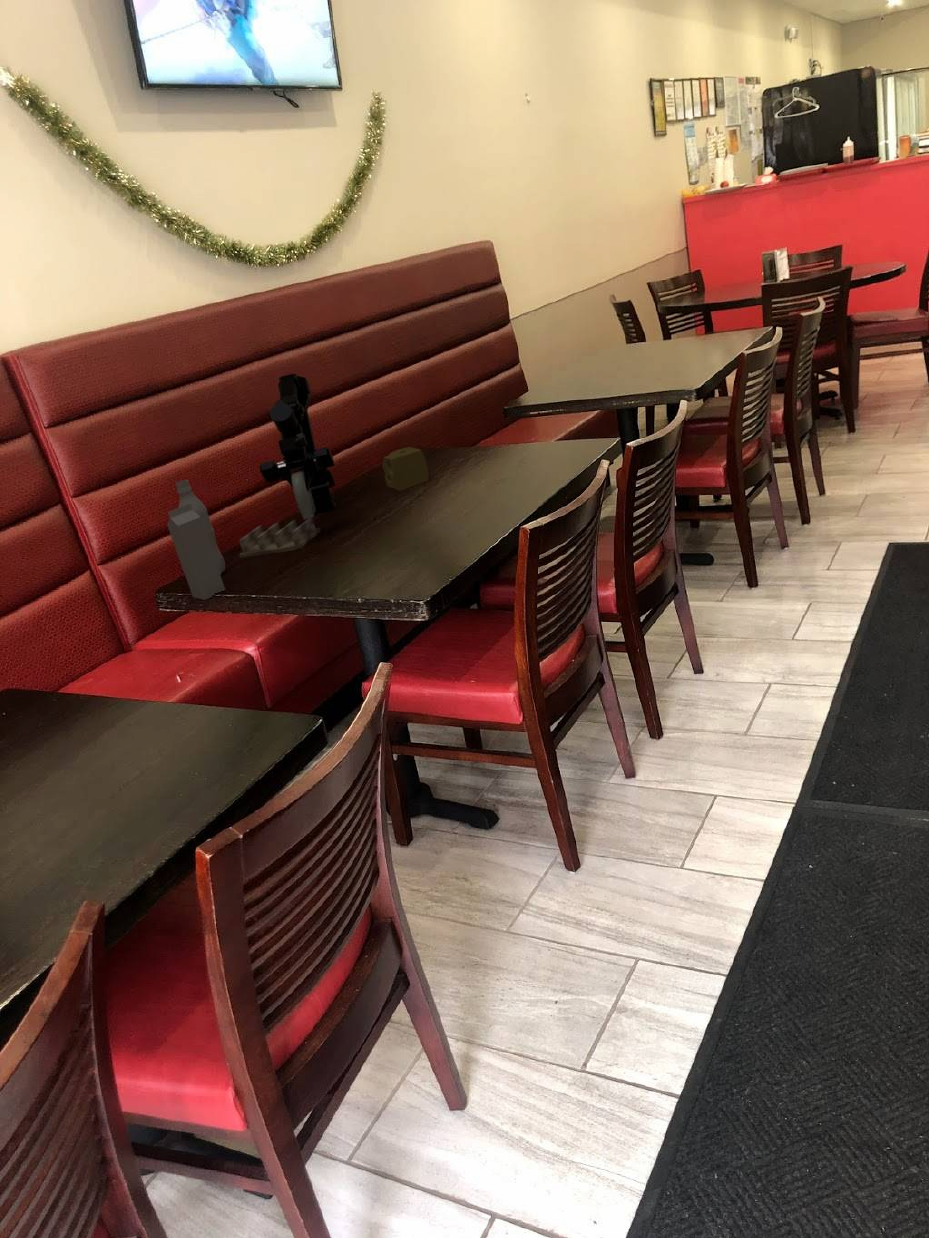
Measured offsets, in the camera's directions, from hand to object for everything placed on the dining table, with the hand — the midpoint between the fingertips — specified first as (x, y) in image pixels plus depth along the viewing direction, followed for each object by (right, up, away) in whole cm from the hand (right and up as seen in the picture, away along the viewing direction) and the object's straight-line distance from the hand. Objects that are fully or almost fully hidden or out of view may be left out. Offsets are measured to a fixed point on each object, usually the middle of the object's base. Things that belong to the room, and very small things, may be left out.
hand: (301, 492), depth 257 cm
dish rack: (-7, -13, +9) cm, 17 cm away
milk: (-19, -27, -19) cm, 38 cm away
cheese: (+26, +7, +40) cm, 48 cm away
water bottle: (-22, -22, -4) cm, 31 cm away
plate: (+1, -6, +4) cm, 7 cm away
